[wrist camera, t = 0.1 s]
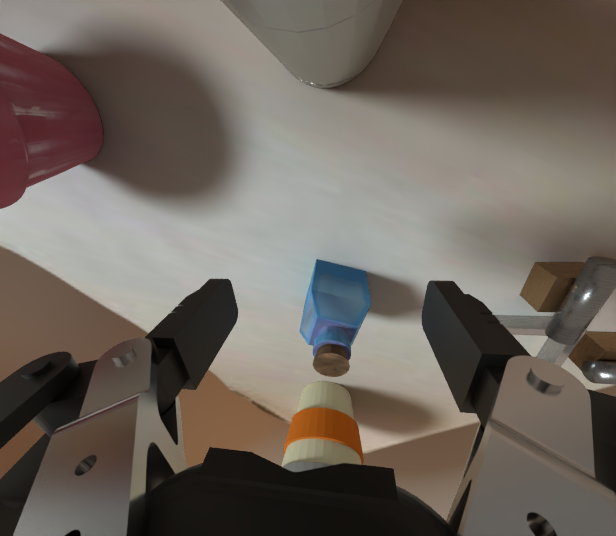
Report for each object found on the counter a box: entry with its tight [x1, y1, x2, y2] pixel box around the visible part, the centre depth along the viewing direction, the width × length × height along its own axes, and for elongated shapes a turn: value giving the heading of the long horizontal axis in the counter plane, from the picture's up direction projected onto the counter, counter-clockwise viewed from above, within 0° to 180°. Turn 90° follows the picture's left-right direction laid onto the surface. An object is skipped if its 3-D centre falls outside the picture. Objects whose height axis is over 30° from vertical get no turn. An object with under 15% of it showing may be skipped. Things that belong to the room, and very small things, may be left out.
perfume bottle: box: [300, 259, 371, 377], centre depth 25 cm, size 6×6×12 cm
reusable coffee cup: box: [282, 381, 364, 472], centre depth 37 cm, size 12×13×15 cm
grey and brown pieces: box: [495, 257, 616, 384], centre depth 26 cm, size 19×17×5 cm
